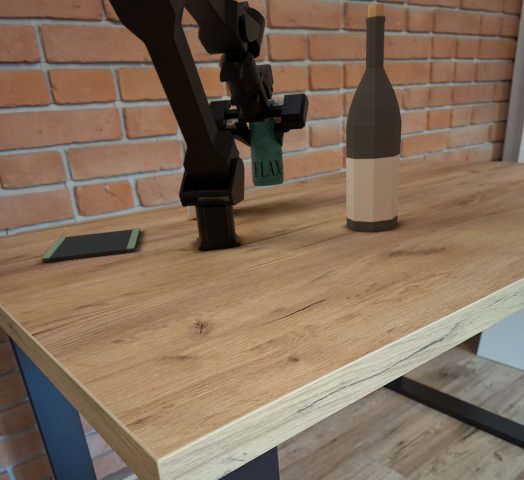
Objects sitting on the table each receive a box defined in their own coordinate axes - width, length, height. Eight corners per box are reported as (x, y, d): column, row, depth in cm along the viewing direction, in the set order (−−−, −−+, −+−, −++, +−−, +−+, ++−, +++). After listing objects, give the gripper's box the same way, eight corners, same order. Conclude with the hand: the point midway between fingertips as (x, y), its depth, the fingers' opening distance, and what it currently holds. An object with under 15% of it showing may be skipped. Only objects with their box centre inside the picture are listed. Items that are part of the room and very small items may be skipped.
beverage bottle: (250, 194, 100) (240, 81, 92) (256, 190, 106) (247, 83, 98) (283, 192, 99) (276, 77, 91) (287, 188, 105) (281, 79, 97)
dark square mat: (135, 251, 79) (134, 247, 79) (42, 262, 78) (41, 258, 78) (140, 231, 92) (139, 227, 92) (61, 240, 90) (60, 236, 90)
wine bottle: (346, 232, 80) (345, 3, 66) (346, 221, 87) (346, 12, 73) (399, 230, 78) (409, -4, 65) (395, 219, 85) (404, 5, 72)
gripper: (304, 39, 86) (319, 109, 100) (203, 51, 91) (230, 116, 106) (295, 92, 83) (312, 156, 97) (190, 101, 88) (221, 161, 102)
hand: (267, 145), depth 100 cm, fingers closed on beverage bottle, 5 cm apart
